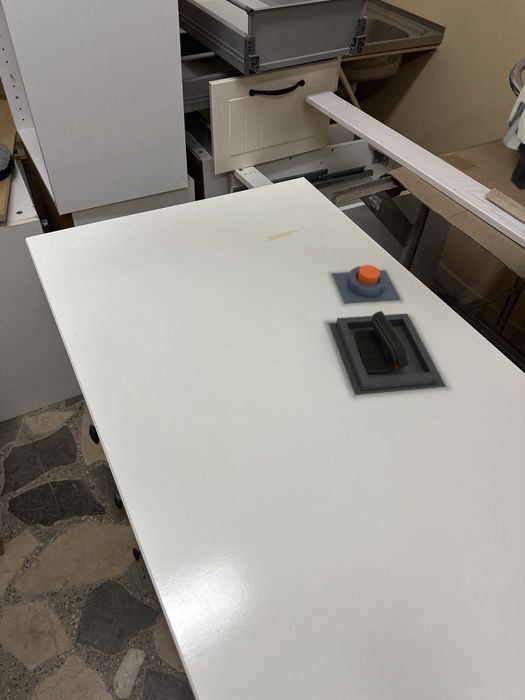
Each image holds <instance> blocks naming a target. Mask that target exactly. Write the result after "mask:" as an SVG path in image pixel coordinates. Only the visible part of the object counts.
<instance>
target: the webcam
mask: <svg viewBox="0 0 525 700" xmlns="http://www.w3.org/2000/svg"><path fill="white" fill-rule="evenodd" d="M385 315H386V314H385V313H384V312H383V311H381V310H380V311H377V312H374V313H373V314H372V316H373V318H372V319H371V321H372V324H373V328H374V329H372V330H354V333H355V337H356V340H357V344H358V347H359V351H360V354H361V358H362V361H363V365H364V367H365V370H366V372H367V373H380V372H389V371H390V370H391V364H390V362H392V363H393V366H394V369H395V370H399V369H402V368H404V367H405V366H407V365H409V361H408V356H407V351H406V348H405V346H404V344H403V342H402V340H401V339H400V337H399V336H398V334H397V333H396V331H395V330H394V328H393V326H392V325H391V324H390V322H389V321H388V319H387V318H386V316H385ZM391 360H392V361H391Z"/></svg>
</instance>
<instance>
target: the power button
mask: <svg viewBox="0 0 525 700" xmlns="http://www.w3.org/2000/svg"><path fill="white" fill-rule="evenodd" d="M360 266H361V265H360ZM379 270H380V269H379V268H378V267H376V266H374V265H372V264H371V265H370V264H365V265H362V266H361V267H360V269H359V272H358V276H357V279H358V281H359V282H361V283H362V284H366V285H375V284H377V283H378V280H379V276H380V271H381V270H380V271H379Z"/></svg>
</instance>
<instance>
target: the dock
mask: <svg viewBox="0 0 525 700" xmlns="http://www.w3.org/2000/svg"><path fill="white" fill-rule="evenodd" d="M384 315H385V316H386V318H387V319H388V321H389V322H390V324H391V325H392V326H393V328H394V330H395V331H396V333H397V334H398V336H399V337H400V339H401V340H402V342H403V344H404V346H405V348H406V351H407V356H408V361H409V365H407V366H405V367H404V368H402V369H399V370H395V369H394V366H393V363H392V362H390V364H391V370H390V371H389V372H380V373H367V372H366V370H365V367H364V365H363V361H362V358H361V354H360V351H359V347H358V344H357V340H356V337H355V333H354V330H372V329H374V328H373V324H372V321H371V319H372V318H373V315H365V316H364V315H363V316H351V317H350V316H349V317H337V318H336V321H335V322H328V326H329V329H330V331H331V334H332V337H333V340H334V343H335V345H336V348H337V351H338V353H339V356H340V358H341V361H342V364H343V366H344V369H345V371H346V375H347V377H348V380H349V382H350V383H349V384H350V385H351V388H352V391H353V393H354V395H355V396H361V395H370V394H371V395H372V394H383V393H392V392H393V393H395V392H402V391H403V392H405V391H414V390H415V391H416V390H426V389H435V388H436V389H437V388H446V387H447V385H446V383H445V382H444V380H443V378H442V376H441V374H440V372H439V370H438V368H437V366H436V364H435V363H434V360H433V359H432V356H431V355H430V353H429V351H428V349H427V348H426V346H425V344H424V341H423V340H422V338H421V337H420V334H419V333H418V331H417V328H416V326H415V325H414V323H413V321H412V319H411V318H410V315H409V314H408V313H396V314H395V313H394V314H384ZM391 361H392V360H391Z"/></svg>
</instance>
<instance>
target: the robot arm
mask: <svg viewBox="0 0 525 700" xmlns="http://www.w3.org/2000/svg"><path fill="white" fill-rule="evenodd" d="M506 129H507V133H506V134H505V136H504V138H503V139H502V144H503V145H504V146H505V147H507V148H509V149H511V150H515V151H516V153H517V155H518V156H519V157H518V160H517V162H516V165H515V166H514V168H513V171H512V173H511V177H510V182H511V183H512V184H513V185H514V186H515V187H516V188H517V189H518V190H519V191H525V83H524V84H523V86H522V88H521V90H520V92H519V95H518V97H517V98H516V101H515V103H514V105H513V108H512V110H511V112H510V115H509V118H508V121H507V124H506Z"/></svg>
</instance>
